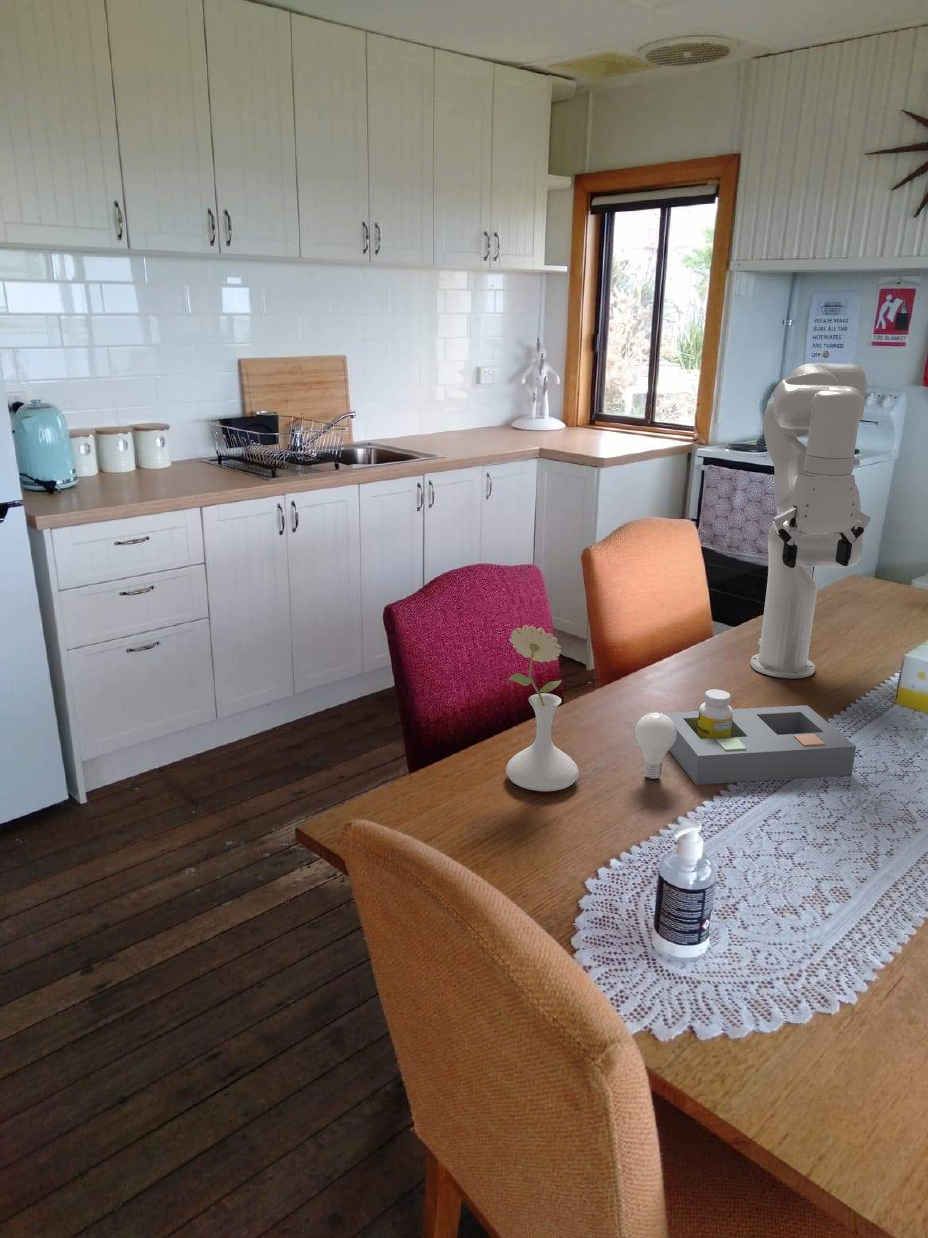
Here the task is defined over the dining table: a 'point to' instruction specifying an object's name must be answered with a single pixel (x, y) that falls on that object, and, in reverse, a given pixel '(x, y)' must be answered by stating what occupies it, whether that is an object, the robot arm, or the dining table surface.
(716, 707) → the supplement bottle
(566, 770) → the flower in vase
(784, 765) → the socket board
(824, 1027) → the dining table surface
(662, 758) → the lightbulb
